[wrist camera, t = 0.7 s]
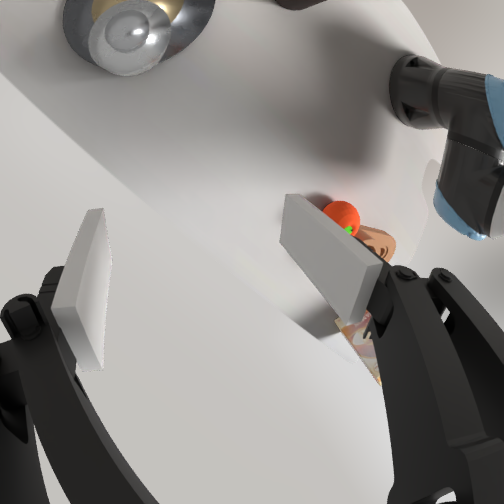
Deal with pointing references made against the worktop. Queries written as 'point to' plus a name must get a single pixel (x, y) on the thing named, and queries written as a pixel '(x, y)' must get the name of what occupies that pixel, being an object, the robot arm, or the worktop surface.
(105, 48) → the cover
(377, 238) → the bracket
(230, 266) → the worktop surface
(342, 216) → the clementine
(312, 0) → the bottle
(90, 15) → the grey plate
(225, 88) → the worktop surface
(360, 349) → the coffeecake box
